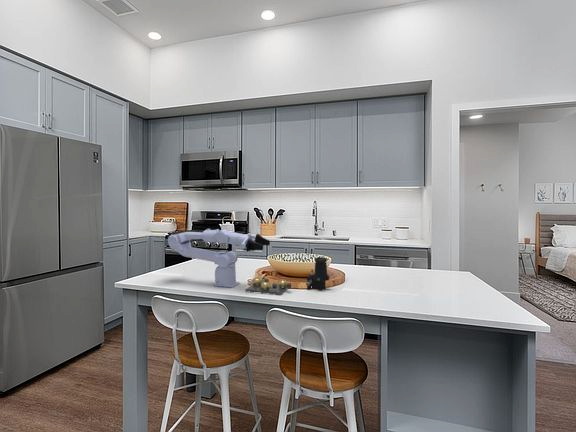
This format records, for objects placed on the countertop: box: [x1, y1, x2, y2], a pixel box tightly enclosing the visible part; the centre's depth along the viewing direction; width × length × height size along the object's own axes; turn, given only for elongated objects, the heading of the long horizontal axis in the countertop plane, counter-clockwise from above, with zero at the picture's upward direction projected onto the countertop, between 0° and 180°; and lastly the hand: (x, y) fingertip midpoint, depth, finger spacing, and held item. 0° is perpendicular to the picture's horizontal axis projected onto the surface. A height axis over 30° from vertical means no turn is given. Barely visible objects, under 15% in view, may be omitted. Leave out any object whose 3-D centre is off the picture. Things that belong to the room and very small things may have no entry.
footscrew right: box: [261, 281, 278, 290], centre depth 145 cm, size 7×4×2 cm, turn 69°
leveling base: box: [245, 282, 290, 296], centre depth 149 cm, size 17×11×2 cm, turn 70°
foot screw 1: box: [252, 277, 269, 285], centre depth 152 cm, size 7×4×2 cm, turn 80°
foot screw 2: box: [278, 279, 292, 289], centre depth 147 cm, size 7×4×2 cm, turn 40°
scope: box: [305, 256, 331, 291], centre depth 149 cm, size 8×14×10 cm
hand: (266, 245), depth 150 cm, fingers open, 7 cm apart
